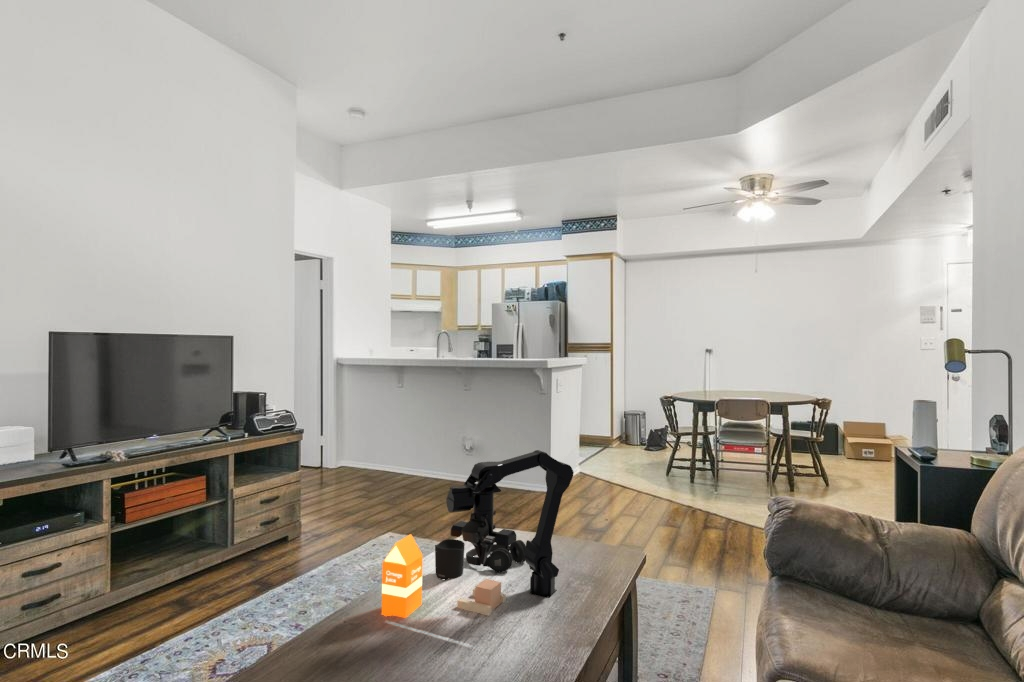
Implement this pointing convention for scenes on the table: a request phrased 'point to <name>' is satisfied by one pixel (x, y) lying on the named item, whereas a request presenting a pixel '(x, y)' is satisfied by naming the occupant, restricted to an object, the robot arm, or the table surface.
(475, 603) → the beige railed tray
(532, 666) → the table surface
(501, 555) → the headphones
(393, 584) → the orange juice
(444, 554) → the pen holder
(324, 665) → the table surface
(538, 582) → the robot arm
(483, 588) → the block
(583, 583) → the table surface
